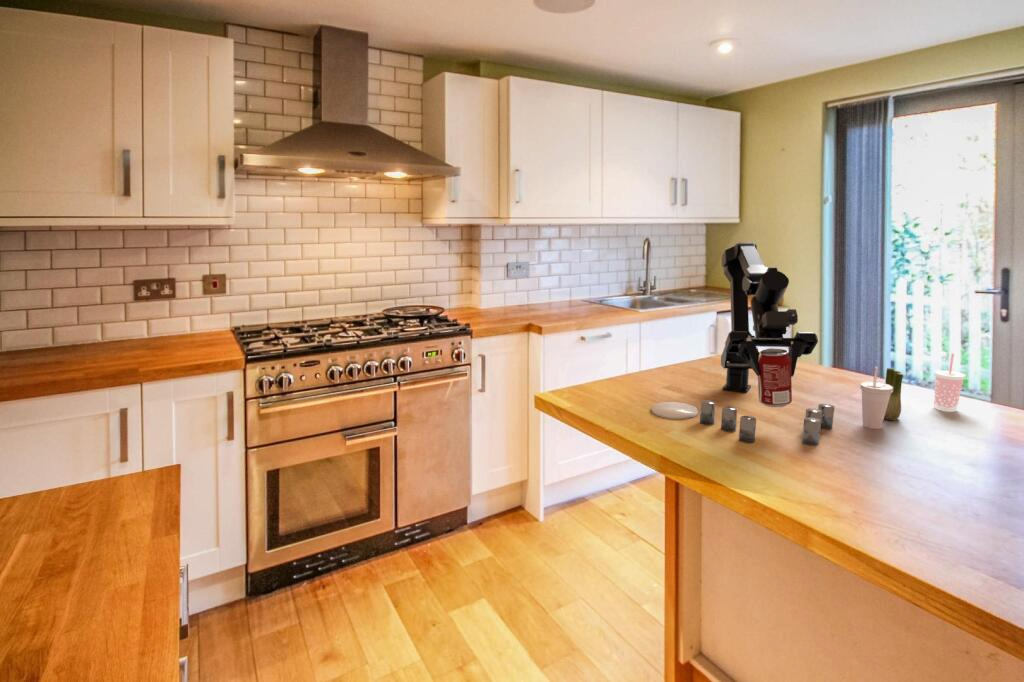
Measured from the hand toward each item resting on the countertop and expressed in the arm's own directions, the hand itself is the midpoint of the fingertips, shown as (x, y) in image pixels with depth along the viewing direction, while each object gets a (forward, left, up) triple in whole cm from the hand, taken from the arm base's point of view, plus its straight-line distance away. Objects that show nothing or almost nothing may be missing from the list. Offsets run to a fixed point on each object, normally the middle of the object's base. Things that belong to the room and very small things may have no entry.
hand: (775, 375), depth 133 cm
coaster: (-3, -23, -13) cm, 27 cm away
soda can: (-2, 0, -7) cm, 7 cm away
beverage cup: (-38, +34, -13) cm, 53 cm away
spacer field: (0, 0, -13) cm, 13 cm away
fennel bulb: (-23, +22, -13) cm, 35 cm away
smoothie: (-15, +19, -13) cm, 28 cm away
